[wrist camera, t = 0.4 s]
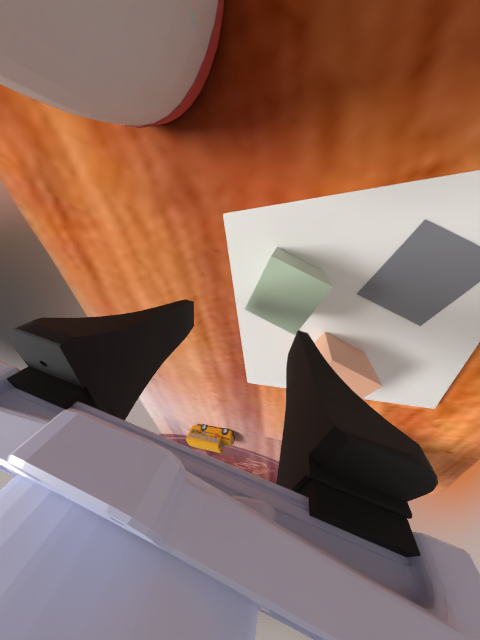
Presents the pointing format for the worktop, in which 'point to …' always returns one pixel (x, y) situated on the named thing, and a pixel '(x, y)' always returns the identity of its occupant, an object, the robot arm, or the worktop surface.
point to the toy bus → (210, 438)
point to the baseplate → (373, 280)
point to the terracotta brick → (349, 364)
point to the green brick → (288, 291)
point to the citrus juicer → (110, 55)
